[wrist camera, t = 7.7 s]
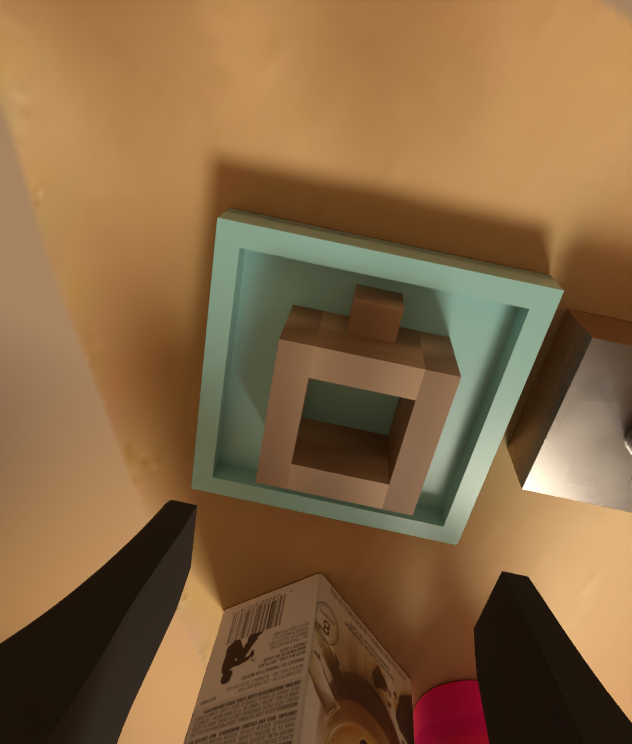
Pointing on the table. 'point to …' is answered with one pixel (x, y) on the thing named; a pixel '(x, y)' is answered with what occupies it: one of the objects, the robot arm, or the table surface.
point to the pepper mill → (451, 715)
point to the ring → (364, 371)
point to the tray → (349, 404)
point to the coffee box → (300, 675)
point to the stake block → (580, 416)
